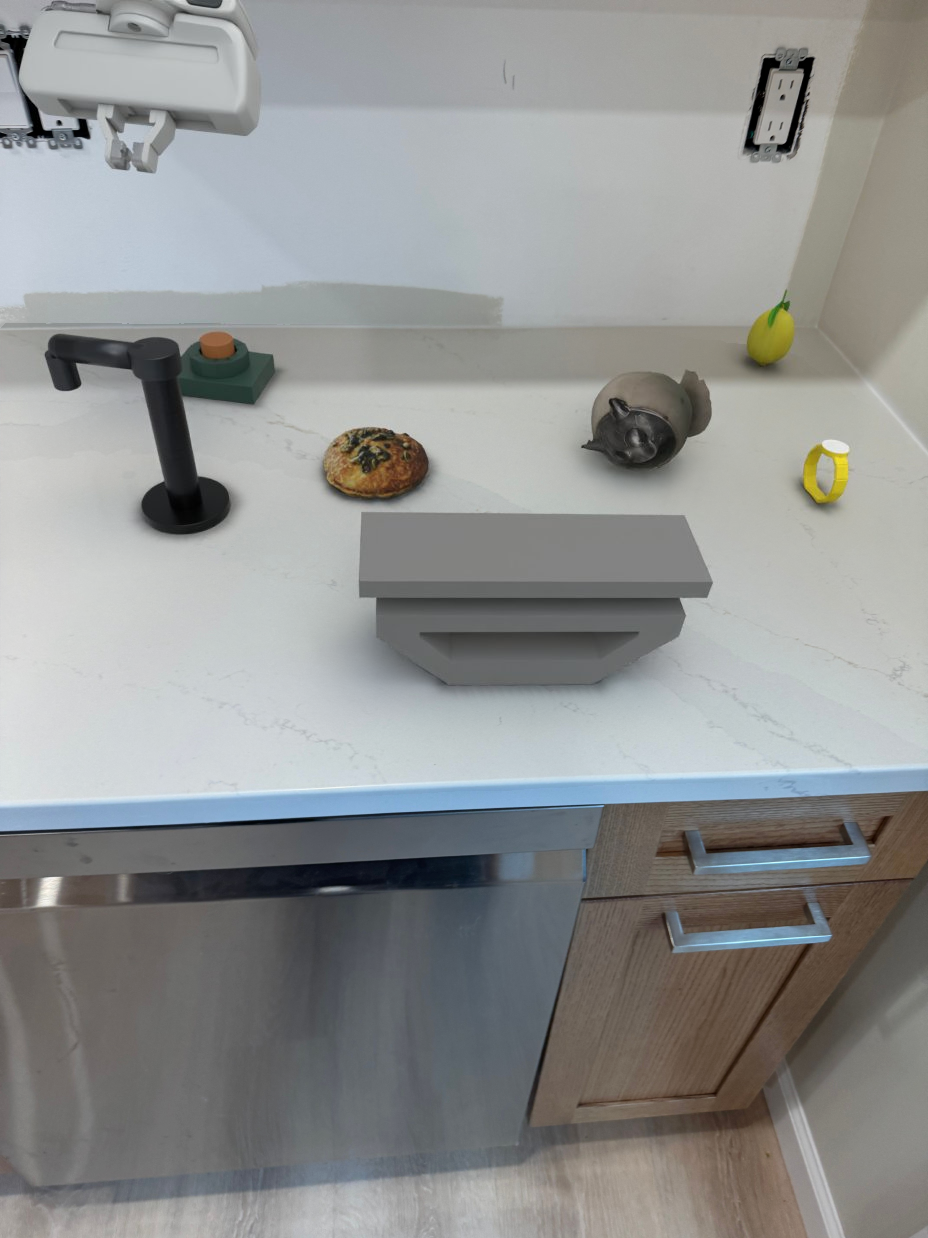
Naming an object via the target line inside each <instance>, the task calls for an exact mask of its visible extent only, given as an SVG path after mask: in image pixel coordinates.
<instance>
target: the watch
mask: <svg viewBox="0 0 928 1238" xmlns="http://www.w3.org/2000/svg"><path fill="white" fill-rule="evenodd" d="M850 451H851V449H850V446H849V445H848V444H847V443H845V442H843V441H841V440H838V439H824V440H822V442H821V443H820V444H819V443H818V444H816V445H815V446H813V448H811V449H810V451H808V453H807V455H806V458H805V460H804V464H803V469H802V470H803V471H802V481H803V487H804V489H805V490H806V492H807V493H808V494H809V495H810V496H811V497H812V499H814V501H815V503H817V504H830V503H834V502H836V501H838V500H839V498H840V497H841V496H842V495H843V494H844V492H845V490H846V487H847V484H848V481H849V480H848V479H849V468H850V467H849V462H848V458H847V457H848V456H849V455H850ZM822 455H824V456H826V457H828V458H830V459H832V461H833V465H834V474H833V475H834V476H833V477H834V478H833V482H832V485H831V489H830V491H829V492H828V493H827V495H825V493H824V492H823V491H822V490H821V489H820V488H819V485H818V480H817V469H818V463H819V461H820V458H821V457H822Z"/></svg>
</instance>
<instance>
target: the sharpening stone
mask: <svg viewBox="0 0 928 1238" xmlns="http://www.w3.org/2000/svg"><path fill="white" fill-rule="evenodd" d="M360 516H361V517H360V535H359V537H360V538H359V539H360V540H359V566H358V597H359V598H360V599H362V598H363V599H375V637H376V638H377V639H378V640H380V641H381V642H383V643H384V644H386V645H387V646H389V647H390V648H392V649H393V650H395V651H397V652H398V653H399V654H401V655H403V656H404V657H406V658H407V659H409V660H410V661H412V662H413V663H415V664H416V665H417V666H419V667H421V668H422V669H424V670H425V671H427V672H428V673H429V674H431V675H433V676H435V677H436V678H437V679H439V680H441V681H442V682H443V683H445V684H446V685H449V686H454V687H455V686H544V685H546V686H547V685H549V686H553V685H554V686H555V685H595V684H596V683H598V682H600V681H601V680H604V679H605V678H607V677H609V676H610V675H613V674H614V673H616V672H618V671H619V670H622V669H624V668H625V667H626V666H629V665H630V664H632V663H634V662H635V661H638V660H639V659H641V658H642V657H644V656H646V655H648V654H649V653H650V654H651V652H653V651H655V650H657V649H659V648H660V647H662V646H664V645H666V644H668V643H670V642H671V641H673V640H675V639H677V638H679V637H680V635H681V632H682V629H683V626H684V623H685V620H686V617H687V614H686V611H685V609H684V606H683V604H682V600H681V599H707V598H708V597H709V595H710V591H711V589H712V586H713V583H714V581H713V578H712V577H711V573H710V572H709V569H708V567H707V564H706V562H705V560H704V557H703V555H702V553H701V550H700V547H699V546H698V543H697V541H696V538H695V536H694V534H693V531H692V528H691V527H690V525H689V521H688V520H687V517H686V515H685V514H623V513H621V514H620V513H619V514H616V513H615V514H613V513H610V514H609V513H524V512H523V513H519V512H517V513H513V512H512V513H511V512H502V513H501V512H421V511H420V512H418V511H417V512H416V511H415V512H414V511H412V512H411V511H409V512H408V511H405V512H404V511H403V512H402V511H400V512H399V511H361V515H360Z"/></svg>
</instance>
